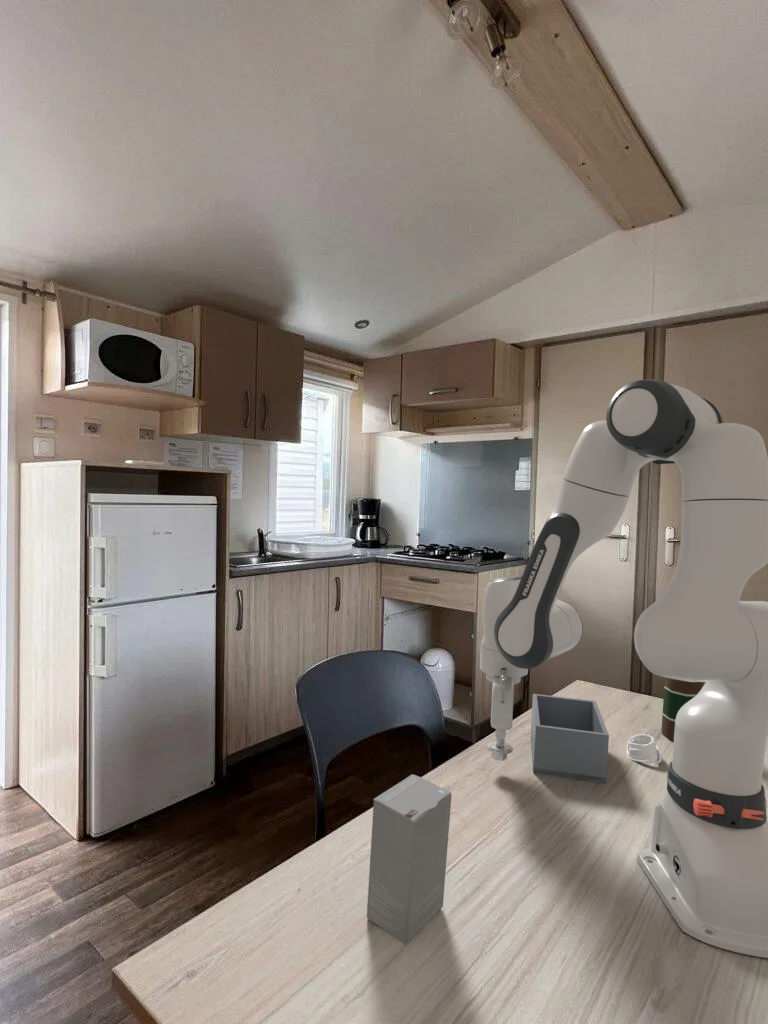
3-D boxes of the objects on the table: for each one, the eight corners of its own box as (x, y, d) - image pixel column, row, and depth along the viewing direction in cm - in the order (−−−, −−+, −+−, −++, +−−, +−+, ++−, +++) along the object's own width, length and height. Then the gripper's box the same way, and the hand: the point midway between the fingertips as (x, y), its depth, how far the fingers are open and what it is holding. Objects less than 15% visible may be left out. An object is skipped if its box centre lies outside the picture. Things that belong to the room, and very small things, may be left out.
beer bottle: (653, 732, 133) (660, 627, 132) (677, 728, 136) (684, 625, 135) (683, 747, 126) (691, 636, 125) (708, 742, 129) (716, 633, 128)
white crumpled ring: (665, 774, 116) (670, 751, 115) (630, 766, 117) (634, 743, 116) (654, 753, 124) (658, 731, 123) (621, 746, 125) (625, 724, 124)
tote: (605, 783, 109) (608, 735, 108) (533, 772, 112) (535, 726, 111) (593, 742, 126) (595, 701, 126) (530, 734, 129) (532, 693, 129)
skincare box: (404, 885, 79) (409, 769, 78) (449, 912, 74) (455, 789, 73) (362, 920, 72) (367, 793, 71) (408, 951, 68) (415, 817, 67)
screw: (512, 765, 108) (485, 761, 110) (512, 754, 113) (486, 750, 114) (515, 695, 108) (488, 692, 109) (515, 687, 113) (490, 684, 114)
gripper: (522, 680, 100) (518, 761, 100) (520, 649, 120) (516, 717, 120) (484, 676, 101) (481, 756, 102) (488, 646, 121) (485, 713, 122)
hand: (500, 734), depth 111 cm, fingers closed on screw
